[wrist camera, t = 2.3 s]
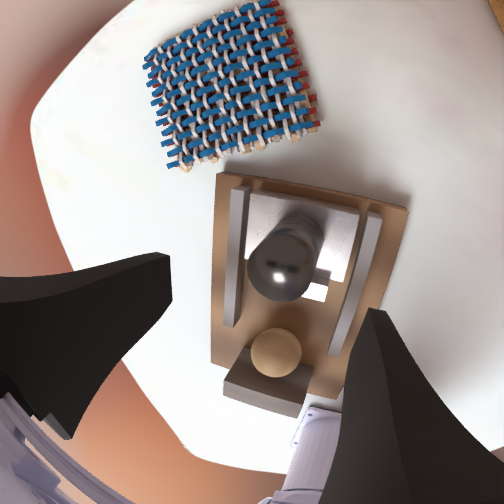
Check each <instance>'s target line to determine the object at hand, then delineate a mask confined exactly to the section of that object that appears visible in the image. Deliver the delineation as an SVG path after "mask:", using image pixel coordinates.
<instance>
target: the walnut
mask: <svg viewBox="0 0 504 504" xmlns="http://www.w3.org/2000/svg"><path fill="white" fill-rule="evenodd" d="M301 353H302V350H301V345H300V343H299V340H298V339H297V337H296V336H295V335H294V334H293V333H291V332H290V331H288V330H285V329H282V328H271V329H268V330H265V331H263V332H262V333H260V334H259V335H258V336H257V337H256V339H255V340H254V342H253V344H252V347H251V359H252V362H253V364H254V366H255V367H256V368H257V370H258V371H260V372H261V373H262V374H264V375H266V376H270V377H282V376H285V375H287V374H289V373H291V372H292V371H293V370H294V369H295V368H296V367H297V366H298V364H299V362H300V359H301Z"/></svg>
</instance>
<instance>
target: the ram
mask: <svg viewBox="0 0 504 504" xmlns="http://www.w3.org/2000/svg"><path fill="white" fill-rule="evenodd" d="M359 216H360V215H359V209H357V208H353V207H348V206H344V205H339V204H335V203H330V202H326V201H321V200H316V199H311V198H306V197H301V196H296V195H291V194H286V193H280V192H275V191H269V190H263V189H258V190H256V191H254V192H252V193H251V194H250V205H249V215H248V226H247V237H246V248H245V259H248V261H247V274H248V278H249V280H250V283H251V284H252V285H253V287H254V288H255V289H256V290H257V291H258V292H259V293H260V294H261V295H263V296H264V297H266V298H268V299H270V300H274V301H278V302H288V301H293V300H295V299H298V298H299V297H301V296H303V297H307V298H311V299H315V300H319V301H323V302H324V300H325V296H326V292H327V289H328V284H329V280H330V279H331V280H335V281H339V282H343V280H344V277H345V273H346V269H347V266H348V262H349V258H350V254H351V250H352V246H353V242H354V238H355V234H356V229H357V225H358V221H359Z"/></svg>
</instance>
